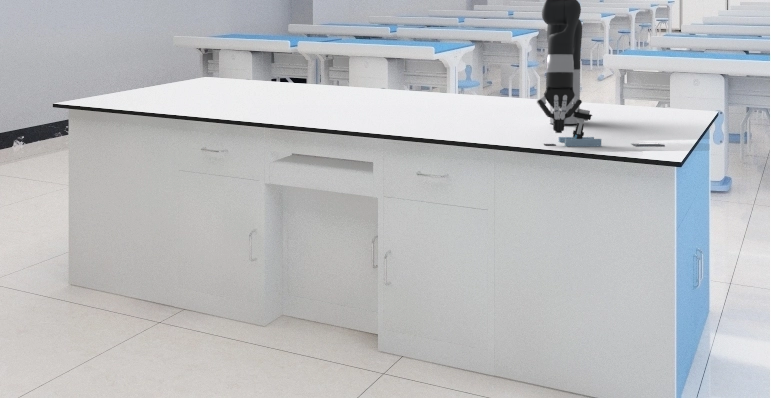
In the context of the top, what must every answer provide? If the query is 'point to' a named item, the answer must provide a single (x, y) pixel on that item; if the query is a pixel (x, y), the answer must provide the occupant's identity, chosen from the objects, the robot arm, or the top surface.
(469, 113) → the top surface
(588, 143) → the channel
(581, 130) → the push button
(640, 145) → the mat
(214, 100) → the top surface
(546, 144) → the trap plate
